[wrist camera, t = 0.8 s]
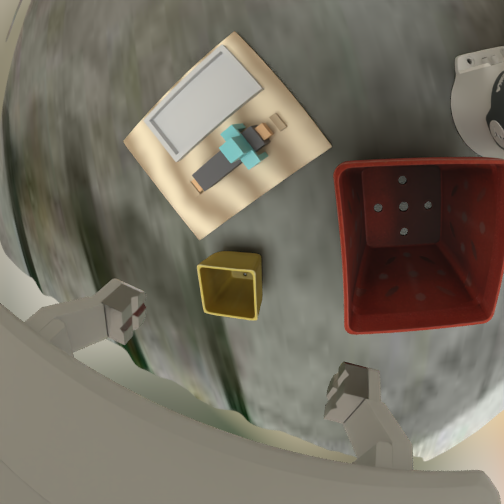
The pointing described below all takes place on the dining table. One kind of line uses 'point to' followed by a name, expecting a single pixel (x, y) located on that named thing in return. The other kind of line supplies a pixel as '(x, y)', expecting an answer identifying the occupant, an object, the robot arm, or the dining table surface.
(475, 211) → the plant pot
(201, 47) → the dining table surface
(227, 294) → the flower pot
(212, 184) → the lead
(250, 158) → the teal stepped block
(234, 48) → the board
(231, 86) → the tray
